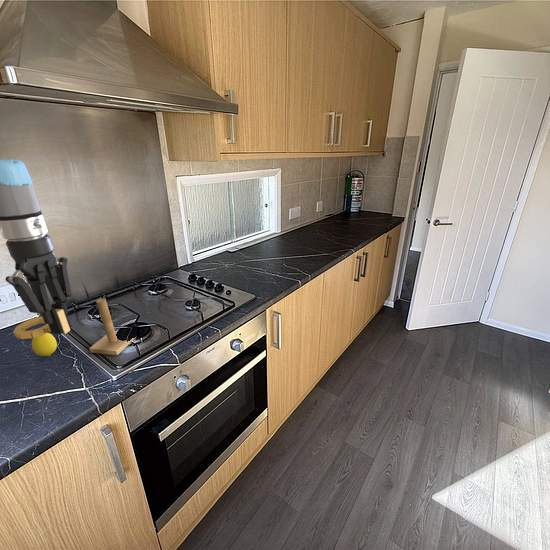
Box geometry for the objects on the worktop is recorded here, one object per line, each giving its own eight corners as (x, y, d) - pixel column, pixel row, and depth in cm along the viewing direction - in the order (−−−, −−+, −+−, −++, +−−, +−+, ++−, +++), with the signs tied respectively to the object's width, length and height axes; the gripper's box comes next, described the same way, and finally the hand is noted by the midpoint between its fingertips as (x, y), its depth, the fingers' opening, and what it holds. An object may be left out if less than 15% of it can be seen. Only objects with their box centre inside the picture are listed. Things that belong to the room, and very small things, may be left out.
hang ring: (6, 337, 70) (-4, 316, 68) (38, 319, 78) (30, 299, 75) (53, 342, 68) (44, 320, 65) (81, 322, 75) (74, 302, 73)
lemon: (32, 361, 84) (22, 338, 81) (48, 349, 89) (39, 327, 86) (49, 362, 83) (40, 339, 80) (65, 350, 88) (56, 327, 85)
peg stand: (90, 352, 87) (74, 306, 81) (111, 335, 95) (98, 292, 89) (117, 355, 85) (103, 309, 79) (136, 337, 93) (124, 294, 87)
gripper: (7, 248, 55) (48, 350, 64) (70, 228, 68) (96, 315, 78) (-25, 246, 56) (20, 347, 66) (43, 227, 70) (72, 313, 79)
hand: (61, 330), depth 72 cm, fingers closed on hang ring, 2 cm apart
